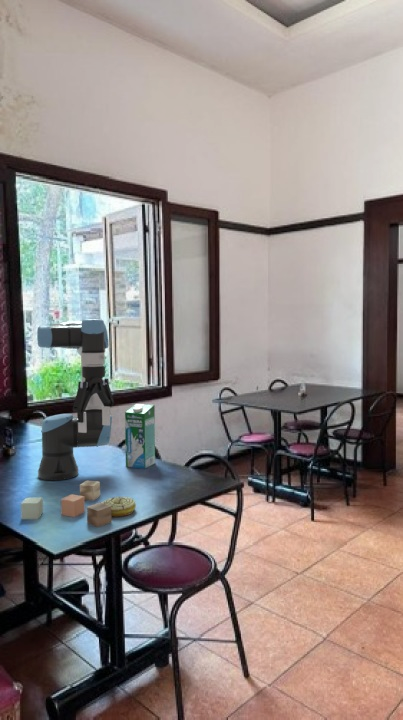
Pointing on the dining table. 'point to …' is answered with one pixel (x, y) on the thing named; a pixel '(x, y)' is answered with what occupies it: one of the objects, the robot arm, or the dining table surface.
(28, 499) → the sage cube
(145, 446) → the milk carton
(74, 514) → the terracotta cube
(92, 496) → the beech cube
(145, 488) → the dining table surface
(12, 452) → the dining table surface
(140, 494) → the dining table surface
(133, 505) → the decorated donut
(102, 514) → the walnut cube
